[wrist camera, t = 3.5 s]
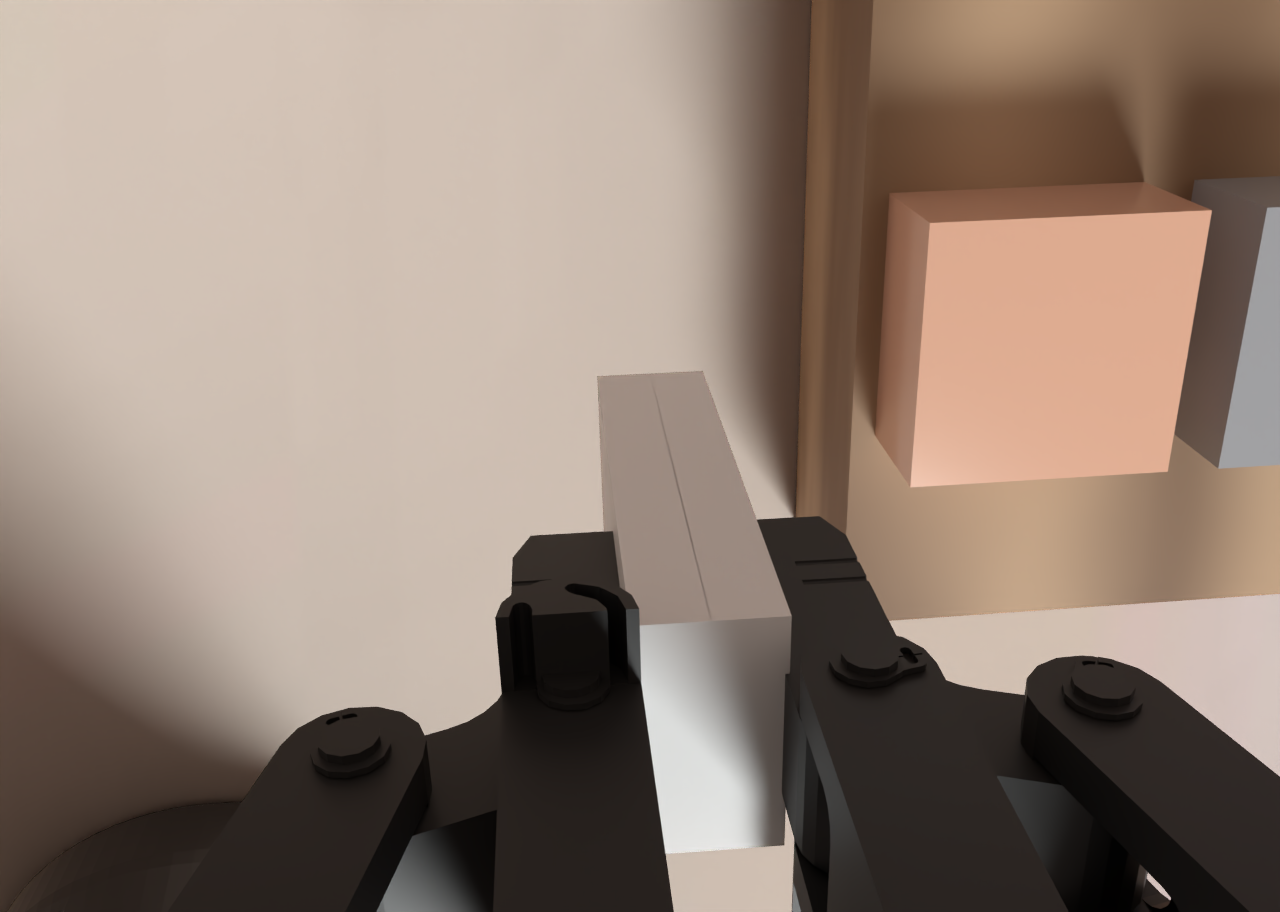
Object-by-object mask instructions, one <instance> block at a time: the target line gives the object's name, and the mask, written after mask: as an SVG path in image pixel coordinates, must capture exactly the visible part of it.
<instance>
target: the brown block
mask: <svg viewBox="0 0 1280 912" xmlns="http://www.w3.org/2000/svg"><path fill="white" fill-rule="evenodd" d="M1270 176H1280V0H812V7H811V39H810V71H809V103H808V135H807V166H806V198H805V230H804V262H803V294H802V326H801V358H800V389H799V421H798V453H797V485H796V517H812V516H820V517H821V518H823V519H824V520H826V521H827V522H828V523H830V524H831V525H833V526H834V527H835V528H837V529H838V530H840V531H841V532H843V533H844V534H845V535H846V536H847V538H848V540H849V542H850V544H851V546H852V548H853V550H854V552H855V554H856V556H857V561H858V562H860V564H861V566H862V568H863V570H864V572H865V574H866V576H867V581H869V582H870V584H871V586H872V588H873V590H874V592H875V594H876V596H877V598H878V600H879V602H880V604H881V606H882V608H883V610H884V612H885V614H886V616H887V618H888V620H889V621H891V620H906V619H920V618H935V617H949V616H964V615H978V614H993V613H1007V612H1022V611H1037V610H1051V609H1066V608H1080V607H1095V606H1109V605H1124V604H1138V603H1153V602H1167V601H1182V600H1196V599H1211V598H1225V597H1240V596H1255V595H1269V594H1280V465H1270V466H1254V467H1237V468H1221V469H1218V468H1217V467H1215V466H1214V465H1213V464H1212V463H1210V462H1209V461H1208V460H1207V459H1205V458H1204V457H1203V456H1201V455H1200V454H1199V453H1198V452H1196V451H1195V450H1194V449H1193V448H1191V447H1190V446H1189V445H1187V444H1186V443H1185V442H1184V441H1182V440H1181V439H1180V438H1179V437H1177V436H1176V435H1175V434H1174V437H1173V443H1172V449H1171V455H1170V461H1169V467H1168V472H1155V473H1139V474H1123V475H1106V476H1090V477H1074V478H1057V479H1041V480H1024V481H1008V482H992V483H975V484H959V485H942V486H926V487H910V486H909V485H908V483H907V482H906V480H905V479H904V477H903V476H902V475H901V473H900V472H899V470H898V469H897V467H896V466H895V464H894V463H893V461H892V460H891V458H890V457H889V455H888V454H887V453H886V451H885V450H884V448H883V447H882V445H881V444H880V442H879V441H878V439H877V438H876V436H875V427H876V410H877V393H878V377H879V360H880V343H881V326H882V310H883V293H884V276H885V259H886V243H887V226H888V209H889V193H902V192H925V191H948V190H971V189H994V188H1017V187H1040V186H1063V185H1086V184H1109V183H1132V182H1146V183H1148V184H1151V185H1153V186H1155V187H1158V188H1160V189H1162V190H1165V191H1167V192H1170V193H1172V194H1174V195H1177V196H1179V197H1182V198H1184V199H1186V200H1189V201H1191V198H1192V192H1193V186H1194V180H1201V179H1224V178H1247V177H1270Z"/></svg>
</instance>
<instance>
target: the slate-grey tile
mask: <svg viewBox="0 0 1280 912" xmlns="http://www.w3.org/2000/svg"><path fill="white" fill-rule="evenodd" d="M1191 202H1194V203H1196V204H1198V205H1201V206H1203V207H1206V208H1208V209H1210V210H1212V213H1211V219H1210V225H1209V231H1208V237H1207V243H1206V249H1205V255H1204V260H1203V266H1202V272H1201V278H1200V284H1199V290H1198V296H1197V302H1196V308H1195V314H1194V319H1193V325H1192V331H1191V337H1190V343H1189V349H1188V355H1187V361H1186V367H1185V372H1184V378H1183V384H1182V390H1181V396H1180V402H1179V408H1178V414H1177V420H1176V425H1175V431H1174V434H1175V435H1176V436H1177V437H1179V438H1180V439H1181V440H1182V441H1184V442H1185V443H1186V444H1187V445H1189V446H1190V447H1191V448H1193V449H1194V450H1195V451H1196V452H1198V453H1199V454H1200V455H1201V456H1203V457H1204V458H1205V459H1207V460H1208V461H1209V462H1210V463H1212V464H1213V465H1214V466H1215V467H1217V468H1218V469H1221V468H1237V467H1254V466H1270V465H1280V176H1270V177H1247V178H1224V179H1201V180H1194V186H1193V192H1192V198H1191Z"/></svg>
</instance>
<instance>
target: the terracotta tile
mask: <svg viewBox="0 0 1280 912" xmlns="http://www.w3.org/2000/svg"><path fill="white" fill-rule="evenodd" d="M1211 213H1212V210H1210V209H1208V208H1206V207H1203V206H1201V205H1198V204H1196V203H1194V202H1191V201H1189V200H1186V199H1184V198H1182V197H1179V196H1177V195H1174V194H1172V193H1170V192H1167V191H1165V190H1162V189H1160V188H1158V187H1155V186H1153V185H1151V184H1148V183H1146V182H1132V183H1109V184H1086V185H1063V186H1040V187H1017V188H994V189H971V190H948V191H925V192H902V193H889V209H888V226H887V243H886V259H885V276H884V293H883V310H882V326H881V343H880V360H879V377H878V393H877V410H876V427H875V436H876V438H877V439H878V441H879V442H880V444H881V445H882V447H883V448H884V450H885V451H886V453H887V454H888V455H889V457H890V458H891V460H892V461H893V463H894V464H895V466H896V467H897V469H898V470H899V472H900V473H901V475H902V476H903V477H904V479H905V480H906V482H907V483H908V485H909V486H910V487H926V486H942V485H959V484H975V483H992V482H1008V481H1024V480H1041V479H1057V478H1074V477H1090V476H1106V475H1123V474H1139V473H1155V472H1168V467H1169V461H1170V455H1171V449H1172V443H1173V437H1174V431H1175V425H1176V420H1177V414H1178V408H1179V402H1180V396H1181V390H1182V384H1183V378H1184V372H1185V367H1186V361H1187V355H1188V349H1189V343H1190V337H1191V331H1192V325H1193V319H1194V314H1195V308H1196V302H1197V296H1198V290H1199V284H1200V278H1201V272H1202V266H1203V260H1204V255H1205V249H1206V243H1207V237H1208V231H1209V225H1210V219H1211Z"/></svg>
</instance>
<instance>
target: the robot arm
mask: <svg viewBox="0 0 1280 912" xmlns="http://www.w3.org/2000/svg"><path fill="white" fill-rule="evenodd" d="M597 378H598V402H599V427H600V451H601V475H602V499H603V523H604V532H589V533H571V534H554V535H537V536H530V537H529V539H528V540H527V541H526V542H525V544H524V545H523V546H522V547H521V548H520V550H519V551H518V552H517V553H516V554H515V556H514V557H513V566H512V593H511V596H509V597H508V598H507V599H506V600H505V601H503V602H502V603H501V605H500V608H499V610H498V613H497V615H496V617H495V619H496V631H497V643H498V654H499V666H500V677H501V689H502V695H501V696H500V698H499V699H498V701H497V702H495V703H494V704H493V705H492V706H491V707H490V708H489V709H487V710H486V711H485V712H484V713H482V714H480V715H479V716H477V717H475V718H473V719H472V720H470V721H468V722H466V723H463V724H460V725H458V726H455V727H452V728H449V729H446V730H443V731H439V732H436V733H432V734H429V735H424V733H423V731H422V729H421V727H420V725H419V723H417V722H416V721H414V720H413V719H411V718H410V717H408V716H407V715H405V714H404V713H402V712H399V711H394V710H389V709H385V708H380V707H362V708H348V709H344V710H340V711H336V712H333V713H329V714H326V715H322V716H320V717H318V718H316V719H314V720H313V721H311V722H309V723H307V724H305V725H303V726H301V727H300V728H298V729H297V730H296V731H295V732H294V733H293V734H292V735H291V736H290V737H289V738H288V739H287V740H286V741H285V742H284V743H283V744H282V745H281V746H280V747H279V748H278V750H277V751H276V753H275V754H274V756H273V757H272V759H271V760H270V762H269V763H268V765H267V766H266V768H265V769H264V771H263V772H262V773H261V775H260V776H259V778H258V779H257V781H256V782H255V784H254V785H253V787H252V788H251V790H250V791H249V793H248V794H247V796H246V797H245V798H244V800H243V801H242V803H240V802H232V803H212V804H202V805H193V806H186V807H180V808H174V809H169V810H165V811H160V812H156V813H152V814H148V815H145V816H142V817H138V818H135V819H132V820H129V821H126V822H123V823H121V824H118V825H115V826H113V827H110V828H108V829H106V830H104V831H102V832H99V833H97V834H95V835H93V836H91V837H89V838H88V839H86V840H84V841H82V842H80V843H78V844H77V845H75V846H74V847H72V848H71V849H69V850H67V851H66V852H64V853H63V854H61V855H60V856H59V857H57V858H56V859H55V860H53V861H52V862H51V863H50V864H48V865H47V866H46V867H45V868H44V869H43V870H42V871H40V872H39V873H38V874H37V875H36V876H35V877H34V878H33V879H32V880H31V881H30V882H29V883H28V885H27V886H26V887H25V888H24V889H23V890H22V892H21V893H20V894H19V895H18V897H17V898H16V899H15V900H14V902H13V904H12V905H11V907H10V908H9V910H8V911H7V912H674V911H673V904H672V897H671V890H670V883H669V875H668V868H667V861H666V854H673V853H686V852H699V851H713V850H726V849H739V848H753V847H766V846H780V845H784V838H785V807H786V810H787V814H788V817H789V821H790V824H791V828H792V831H793V835H794V866H793V893H792V912H1280V777H1279V776H1278V775H1277V774H1276V773H1274V772H1273V771H1272V770H1271V769H1269V768H1268V767H1267V766H1266V765H1264V764H1263V763H1262V762H1261V761H1259V760H1258V759H1257V758H1256V757H1254V756H1253V755H1252V754H1251V753H1249V752H1248V751H1247V750H1246V749H1244V748H1243V747H1242V746H1241V745H1239V744H1238V743H1237V742H1236V741H1234V740H1233V739H1232V738H1231V737H1229V736H1228V735H1227V734H1226V733H1224V732H1223V731H1222V730H1221V729H1219V728H1218V727H1217V726H1216V725H1214V724H1213V723H1212V722H1211V721H1209V720H1208V719H1207V718H1205V717H1204V716H1203V715H1202V714H1200V713H1199V712H1198V711H1197V710H1195V709H1194V708H1193V707H1192V706H1190V705H1189V704H1188V703H1187V702H1185V701H1184V700H1183V699H1182V698H1180V697H1179V696H1178V695H1177V694H1175V693H1174V692H1173V691H1172V690H1170V689H1169V688H1168V687H1167V686H1165V685H1164V684H1163V683H1162V682H1160V681H1159V680H1157V679H1155V678H1154V677H1152V676H1150V675H1149V674H1147V673H1145V672H1144V671H1142V670H1140V669H1139V668H1136V667H1133V666H1130V665H1127V664H1124V663H1121V662H1118V661H1115V660H1112V659H1107V658H1102V657H1098V658H1097V657H1094V656H1073V657H1062V658H1055V659H1053V660H1051V661H1048V662H1046V663H1043V664H1041V665H1038V666H1037V667H1036V668H1035V669H1034V671H1033V672H1032V673H1031V674H1030V675H1029V677H1028V678H1027V681H1026V689H1025V695H1019V694H1012V693H1004V692H997V691H989V690H982V689H977V688H972V687H967V686H962V685H958V684H955V683H952V682H950V681H947V680H946V679H945V677H944V676H943V674H942V672H941V670H940V668H939V666H938V664H937V663H936V661H935V660H934V659H933V658H932V657H931V656H930V655H929V654H928V653H927V651H926V650H925V649H924V648H922V647H920V646H918V645H916V644H915V643H913V642H911V641H909V640H907V639H905V638H903V637H899V636H896V634H895V632H894V630H893V628H892V626H891V624H890V622H889V620H888V618H887V616H886V614H885V612H884V610H883V608H882V606H881V604H880V602H879V600H878V598H877V596H876V594H875V592H874V590H873V588H872V586H871V584H870V582H869V581H867V576H866V574H865V572H864V570H863V568H862V566H861V564H860V562H858V561H857V556H856V554H855V552H854V550H853V548H852V546H851V544H850V542H849V540H848V538H847V536H846V535H845V534H844V533H843V532H841V531H840V530H838V529H837V528H835V527H834V526H833V525H831V524H830V523H828V522H827V521H826V520H824V519H823V518H821V517H820V516H812V517H795V518H778V519H760V520H757V519H756V516H755V514H754V511H753V508H752V505H751V503H750V500H749V497H748V494H747V492H746V489H745V486H744V483H743V481H742V478H741V475H740V472H739V470H738V467H737V464H736V461H735V459H734V456H733V453H732V450H731V448H730V445H729V442H728V439H727V437H726V434H725V431H724V428H723V426H722V423H721V420H720V417H719V415H718V412H717V409H716V406H715V404H714V401H713V398H712V395H711V393H710V390H709V387H708V384H707V382H706V379H705V376H704V373H703V371H695V372H675V373H655V374H635V375H615V376H597ZM1148 873H1149V874H1150V875H1151V876H1152V877H1153V878H1154V879H1155V880H1156V881H1157V882H1158V883H1159V884H1160V885H1161V886H1162V887H1163V888H1164V889H1165V891H1166V892H1167V893H1168V895H1169V896H1170V897H1171V900H1169V899H1168V898H1166V897H1165V896H1164V895H1162V894H1161V893H1160V892H1159V891H1158V890H1157V889H1156V888H1155V887H1154V886H1153V885H1152V884H1151V883H1150V882H1149V881H1148V880H1147V874H1148Z"/></svg>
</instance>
